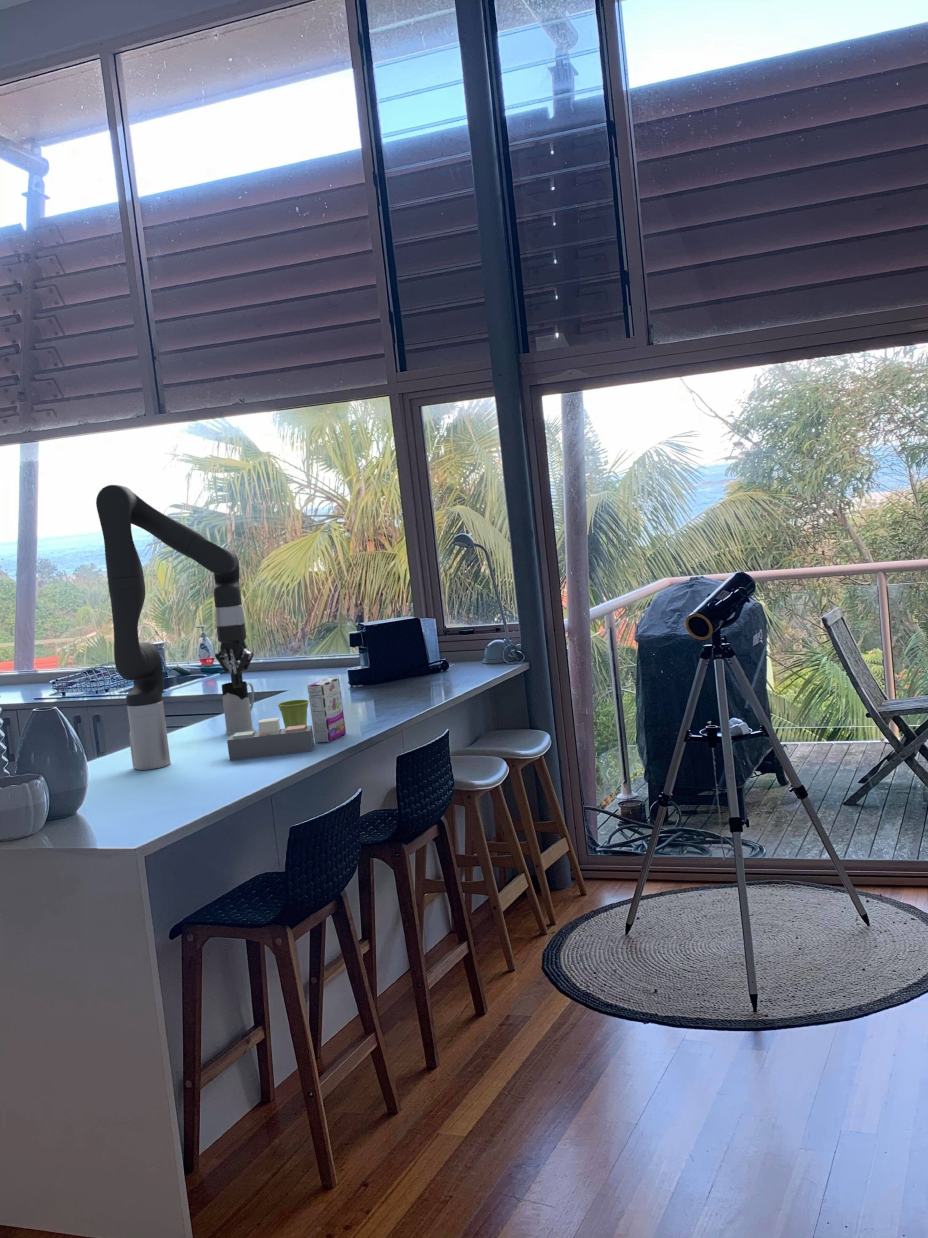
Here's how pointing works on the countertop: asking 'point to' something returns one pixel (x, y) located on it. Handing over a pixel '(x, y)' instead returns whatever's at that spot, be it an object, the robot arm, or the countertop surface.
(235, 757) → the grey long block
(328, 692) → the candy bar box
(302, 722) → the plant pot
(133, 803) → the countertop surface
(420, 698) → the countertop surface
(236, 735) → the key sage
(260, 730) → the key sand
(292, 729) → the key terracotta
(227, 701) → the pitcher
